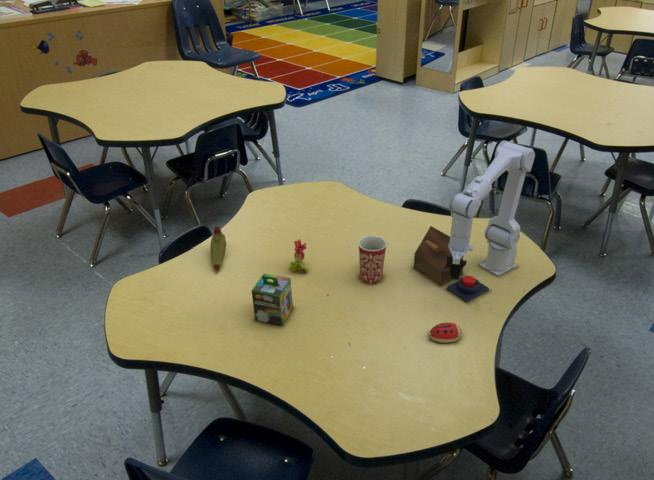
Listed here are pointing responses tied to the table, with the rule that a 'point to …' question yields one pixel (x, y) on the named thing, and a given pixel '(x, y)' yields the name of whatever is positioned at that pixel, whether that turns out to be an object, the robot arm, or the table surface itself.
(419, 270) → the brown box
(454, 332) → the watermelon slice
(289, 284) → the chalk box
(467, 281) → the buzzer button
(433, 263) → the box lid
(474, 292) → the button block
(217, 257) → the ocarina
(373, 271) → the mug
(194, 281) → the table surface
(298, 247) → the bird rattle
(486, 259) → the robot arm
